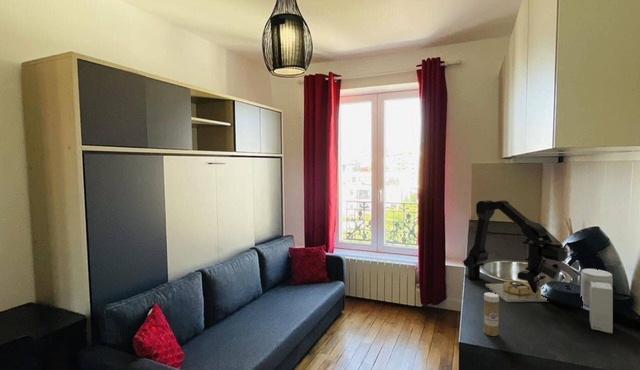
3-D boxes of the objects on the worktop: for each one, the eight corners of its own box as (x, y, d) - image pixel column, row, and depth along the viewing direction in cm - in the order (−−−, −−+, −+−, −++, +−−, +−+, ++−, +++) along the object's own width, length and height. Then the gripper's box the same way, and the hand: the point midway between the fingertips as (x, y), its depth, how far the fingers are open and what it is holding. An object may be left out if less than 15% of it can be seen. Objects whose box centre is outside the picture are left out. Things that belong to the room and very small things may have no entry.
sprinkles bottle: (488, 337, 112) (489, 297, 111) (480, 330, 117) (481, 292, 116) (501, 336, 113) (502, 296, 112) (493, 329, 117) (494, 291, 116)
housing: (485, 286, 158) (485, 276, 158) (523, 285, 158) (524, 276, 158) (507, 302, 140) (507, 291, 140) (550, 301, 140) (551, 290, 140)
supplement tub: (583, 302, 139) (585, 266, 138) (614, 309, 132) (615, 272, 131) (576, 308, 133) (578, 271, 132) (608, 316, 126) (609, 277, 125)
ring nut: (501, 290, 148) (501, 284, 148) (505, 284, 156) (506, 278, 156) (539, 298, 139) (539, 291, 139) (542, 291, 147) (542, 284, 147)
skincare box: (612, 334, 113) (614, 290, 112) (589, 329, 117) (591, 286, 116) (610, 324, 120) (611, 283, 119) (588, 319, 124) (590, 279, 123)
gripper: (548, 264, 130) (547, 304, 131) (566, 256, 141) (566, 293, 141) (517, 258, 139) (516, 295, 140) (537, 251, 150) (536, 286, 150)
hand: (534, 292), depth 142 cm, fingers closed
